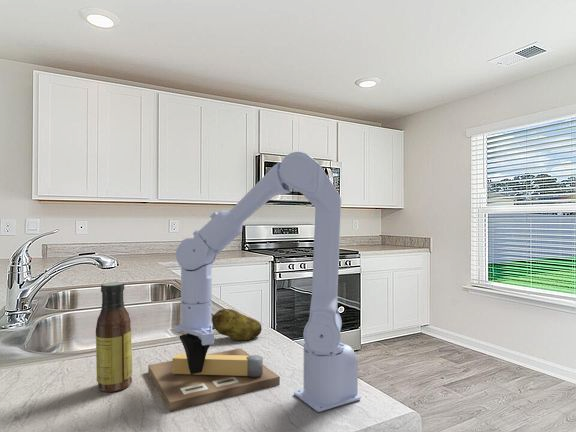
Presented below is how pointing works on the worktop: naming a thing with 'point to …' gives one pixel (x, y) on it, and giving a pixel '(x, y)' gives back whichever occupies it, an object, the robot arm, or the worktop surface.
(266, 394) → the worktop surface
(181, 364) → the swing bar
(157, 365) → the label board
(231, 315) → the potato
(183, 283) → the robot arm
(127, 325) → the sauce bottle
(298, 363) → the worktop surface
